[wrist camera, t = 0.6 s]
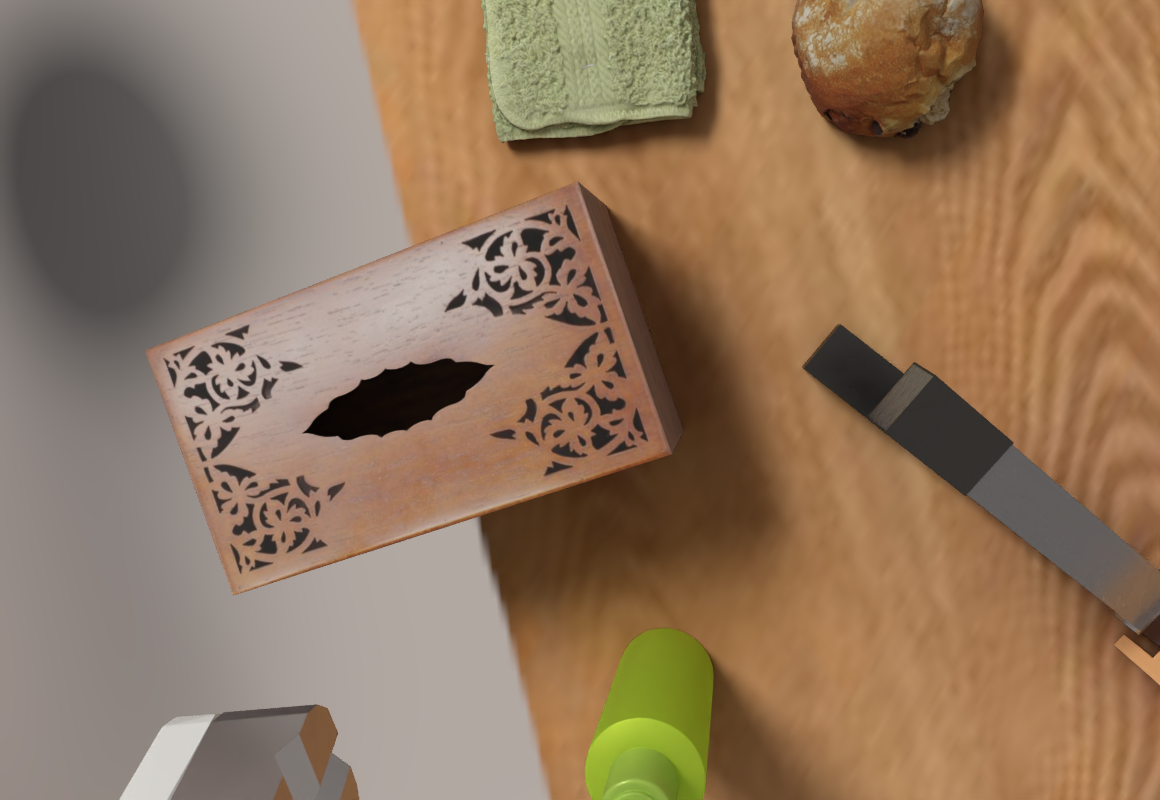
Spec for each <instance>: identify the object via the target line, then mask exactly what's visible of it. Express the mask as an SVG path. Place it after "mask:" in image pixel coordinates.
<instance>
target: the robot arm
mask: <svg viewBox="0 0 1160 800" xmlns="http://www.w3.org/2000/svg"><path fill="white" fill-rule="evenodd" d="M337 735H338V732H337V729H336V727H335V725H334V722H333V720H332V718H331V715H330V713H329V710H328V709H327V708H325V707H323V706H320V705H305V706H293V707H281V708H270V709H257V710H246V711H234V712H224V713H222V714H211V715H199V716H187V717H176V718H174V719H173V720H172V721H170V722H169V723H167V724H166V725H164V726H163V727H162V728H161V730H160V731H159V733H158V735H157V736H156V738H155V740H154V742H153V743H152V745H151V747H150V748H149V750H148V752H147V753H146V755H145V757H144V759H143V760H142V762H141V764H140V765H139V767H138V769H137V770H136V772H135V774H134V776H133V778H132V779H131V781H130V782H129V784H128V786H127V788H126V789H125V791H124V793H123V794H122V796H121V798H120V799H119V800H359V796H358V789H357V783H356V781H355V778H354V775H353V772H352V769H351V767H350V766H349V765H348V764H347V763H345V762H344V761H342V760H341V759H340V758H338V757H337V756H336V755H334V754H333V753H332V750H333V747H334V744H335V741H336V738H337Z"/></svg>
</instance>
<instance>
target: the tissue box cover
mask: <svg viewBox="0 0 1160 800" xmlns="http://www.w3.org/2000/svg"><path fill="white" fill-rule="evenodd" d="M145 352H146V354H147V357H148V360H149V363H150V366H151V368H152V371H153V374H154V376H155V379H156V382H157V385H158V388H159V390H160V393H161V396H162V399H163V402H164V404H165V407H166V410H167V413H168V415H169V418H170V421H171V424H172V427H173V429H174V432H175V435H176V438H177V440H178V443H179V446H180V449H181V452H182V454H183V457H184V460H185V463H186V465H187V468H188V471H189V474H190V477H191V479H192V482H193V484H194V488H195V490H196V493H197V496H198V499H199V502H200V504H201V507H202V510H203V512H204V515H205V518H206V521H207V524H208V527H209V529H210V532H211V535H212V538H213V540H214V543H215V546H216V549H217V551H218V554H219V557H220V560H221V563H222V565H223V568H224V571H225V574H226V576H227V579H228V582H229V585H230V587H231V590H232V593H233V595H236V594H239V593H242V592H245V591H249V590H252V589H255V588H258V587H261V586H264V585H267V584H270V583H273V582H277V581H280V580H282V579H286V578H289V577H292V576H295V575H298V574H301V573H304V572H308V571H310V570H313V569H317V568H320V567H323V566H326V565H329V564H332V563H335V562H338V561H342V560H345V559H348V558H351V557H354V556H357V555H360V554H363V553H367V552H370V551H373V550H376V549H379V548H382V547H385V546H388V545H391V544H394V543H398V542H401V541H404V540H407V539H410V538H413V537H416V536H419V535H423V534H426V533H429V532H432V531H435V530H438V529H441V528H444V527H447V526H450V525H454V524H456V523H460V522H463V521H466V520H469V519H472V518H475V517H478V516H482V515H485V514H488V513H491V512H494V511H497V510H500V509H503V508H506V507H509V506H513V505H516V504H519V503H522V502H525V501H528V500H531V499H534V498H537V497H541V496H544V495H547V494H550V493H553V492H556V491H559V490H562V489H565V488H568V487H572V486H575V485H578V484H581V483H584V482H587V481H590V480H593V479H596V478H600V477H603V476H606V475H609V474H612V473H615V472H618V471H621V470H624V469H627V468H631V467H634V466H637V465H640V464H643V463H646V462H649V461H652V460H655V459H659V458H662V457H665V456H668V455H671V454H672V453H673V451H674V449H675V447H676V445H677V443H678V441H679V439H680V437H681V435H682V433H683V428H682V425H681V422H680V419H679V416H678V413H677V410H676V408H675V405H674V402H673V399H672V396H671V393H670V390H669V387H668V384H667V381H666V379H665V376H664V373H663V370H662V367H661V364H660V361H659V358H658V355H657V352H656V349H655V347H654V344H653V341H652V338H651V335H650V332H649V329H648V326H647V323H646V320H645V317H644V315H643V312H642V309H641V306H640V303H639V300H638V297H637V294H636V291H635V288H634V285H633V283H632V280H631V277H630V274H629V271H628V268H627V265H626V262H625V259H624V256H623V253H622V251H621V248H620V245H619V242H618V239H617V236H616V233H615V230H614V227H613V224H612V222H611V219H610V216H609V213H608V210H607V207H606V205H605V204H604V203H603V202H602V201H600V200H599V199H598V198H597V197H596V196H594V195H593V194H592V193H591V192H590V191H588V190H587V189H586V188H585V187H584V186H582V185H581V184H580V183H579V182H576V183H573V184H570V185H568V186H565V187H563V188H560V189H558V190H555V191H552V192H550V193H547V194H545V195H542V196H540V197H537V198H535V199H532V200H529V201H527V202H524V203H522V204H519V205H517V206H514V207H511V208H509V209H506V210H504V211H501V212H499V213H496V214H494V215H491V216H488V217H486V218H483V219H481V220H478V221H476V222H473V223H471V224H468V225H465V226H463V227H460V228H458V229H455V230H453V231H450V232H447V233H445V234H442V235H440V236H437V237H435V238H432V239H430V240H427V241H424V242H422V243H419V244H417V245H414V246H412V247H409V248H406V249H404V250H402V251H399V252H396V253H394V254H391V255H389V256H386V257H383V258H381V259H378V260H376V261H373V262H371V263H368V264H366V265H363V266H360V267H358V268H355V269H353V270H350V271H348V272H345V273H343V274H340V275H337V276H335V277H332V278H330V279H327V280H324V281H322V282H319V283H317V284H314V285H312V286H309V287H307V288H304V289H302V290H299V291H296V292H294V293H291V294H289V295H286V296H284V297H281V298H278V299H276V300H273V301H271V302H268V303H266V304H263V305H261V306H258V307H255V308H253V309H250V310H248V311H245V312H243V313H240V314H237V315H235V316H232V317H230V318H227V319H225V320H222V321H219V322H217V323H214V324H212V325H209V326H207V327H204V328H202V329H199V330H196V331H194V332H191V333H189V334H186V335H184V336H181V337H178V338H176V339H173V340H171V341H168V342H166V343H163V344H161V345H158V346H155V347H153V348H151V349H148V350H146V351H145Z"/></svg>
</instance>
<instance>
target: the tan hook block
mask: <svg viewBox="0 0 1160 800" xmlns="http://www.w3.org/2000/svg"><path fill="white" fill-rule="evenodd" d="M1114 645H1115V646H1116V647H1117V648H1118V649H1119V650H1120V651H1122V652H1123V653H1124V654H1125V655H1126V656H1127V657H1128V658H1130V659H1131V660H1132V661H1133V662H1134V663H1135V664H1136V665H1138V666H1139V667H1140V668H1141V669H1142V670H1143V671H1144V672H1146V673H1147V674H1148V675H1149V676H1150V677H1151V678H1152V679H1154V680H1155V681H1156V682H1157V683H1158V684H1159V685H1160V651H1159V652H1158V653H1157V654H1156V655H1155V656H1154V657H1152V656H1150V655H1149V654H1148V653H1147V652H1145V651H1144V650H1143V649H1142V648H1140V647H1139V646H1138V645H1137V644H1135V643H1134V642H1133V641H1131V640H1130V639H1129V638H1128V637H1126V636H1125V635H1123V636H1122V637H1121V638H1120V639H1119V640H1118V641H1117V642H1116V643H1115V644H1114Z"/></svg>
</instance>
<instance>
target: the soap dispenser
mask: <svg viewBox="0 0 1160 800" xmlns="http://www.w3.org/2000/svg"><path fill="white" fill-rule="evenodd" d="M713 683H714V672H713V666H712V663H711V660H710V657H709V655H708V654H707V652H706V650H705V649H704V648H703V646H702V645H701V644H700V643H699V642H698V641H697V640H696V639H694V638H693V637H691V636H690V635H688V634H686V633H684V632H682V631H679V630H675V629H669V628H658V629H653V630H649V631H646V632H644V633H642V634H640V635H639V636H637V637H636V638H635V639H634V640H632V641H631V643H630V644H629V645H628V646H627V648H626V649H625V651H624V653H623V655H622V658H621V661H620V664H619V666H618V669H617V672H616V675H615V678H614V681H613V684H612V686H611V689H610V692H609V695H608V698H607V701H606V703H605V706H604V709H603V712H602V715H601V718H600V720H599V723H598V726H597V729H596V732H595V735H594V737H593V740H592V743H591V746H590V749H589V752H588V755H587V758H586V764H585V779H586V784H587V788H588V791H589V794H590V796H591V798H592V800H703V797H704V793H705V787H706V775H707V761H708V748H709V735H710V722H711V709H712V696H713Z"/></svg>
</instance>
